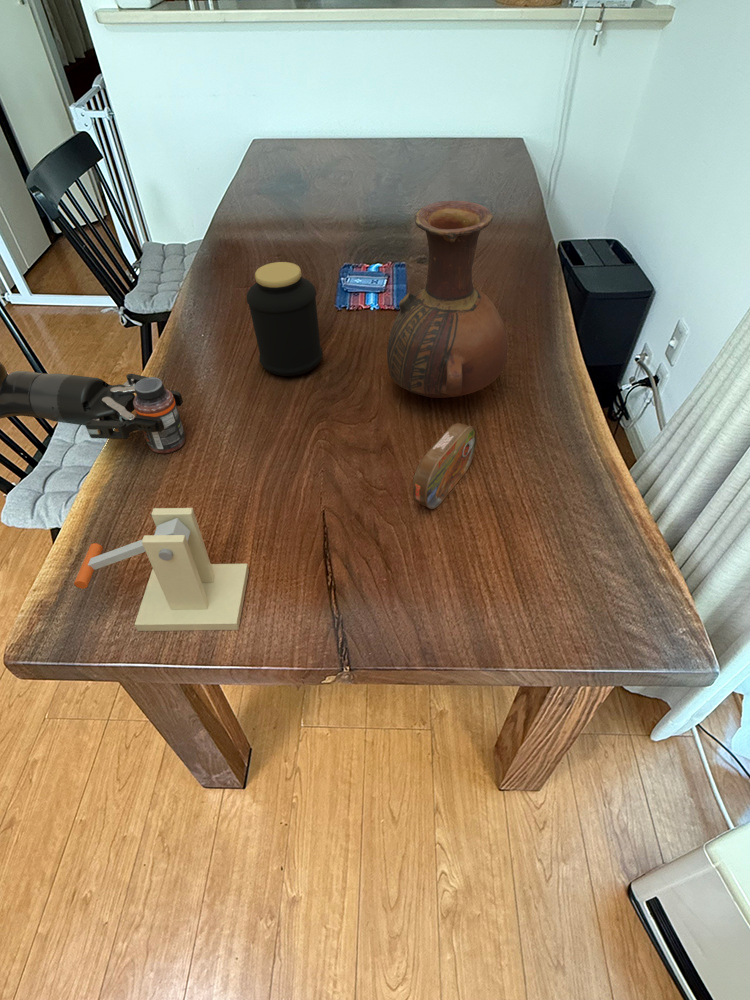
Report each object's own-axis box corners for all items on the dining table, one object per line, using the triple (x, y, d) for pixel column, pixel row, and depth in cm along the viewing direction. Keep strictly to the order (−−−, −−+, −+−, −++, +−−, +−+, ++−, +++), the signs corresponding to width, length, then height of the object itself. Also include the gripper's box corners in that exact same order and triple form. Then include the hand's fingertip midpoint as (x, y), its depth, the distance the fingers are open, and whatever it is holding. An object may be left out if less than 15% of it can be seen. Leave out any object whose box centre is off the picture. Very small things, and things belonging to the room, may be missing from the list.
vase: (378, 358, 113) (377, 187, 92) (480, 350, 115) (503, 181, 93) (398, 440, 96) (402, 254, 74) (518, 430, 97) (556, 244, 76)
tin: (426, 520, 83) (430, 476, 77) (407, 511, 84) (409, 467, 79) (476, 461, 92) (482, 417, 86) (457, 453, 93) (463, 410, 87)
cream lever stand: (137, 631, 71) (98, 557, 61) (156, 571, 77) (124, 495, 68) (238, 630, 71) (215, 556, 61) (249, 570, 77) (230, 494, 68)
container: (244, 369, 111) (226, 274, 98) (288, 341, 117) (276, 249, 105) (294, 391, 106) (281, 294, 93) (336, 360, 112) (330, 266, 100)
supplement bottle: (145, 437, 97) (124, 378, 89) (182, 427, 98) (164, 368, 90) (152, 459, 93) (130, 399, 85) (190, 449, 95) (172, 389, 87)
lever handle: (83, 592, 68) (67, 580, 67) (99, 554, 72) (84, 542, 71) (183, 557, 64) (168, 544, 62) (194, 519, 68) (180, 506, 66)
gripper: (34, 407, 85) (142, 420, 83) (87, 354, 95) (186, 364, 93) (54, 447, 91) (157, 461, 88) (103, 393, 101) (196, 404, 98)
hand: (171, 411), depth 91 cm, fingers closed on supplement bottle, 6 cm apart
